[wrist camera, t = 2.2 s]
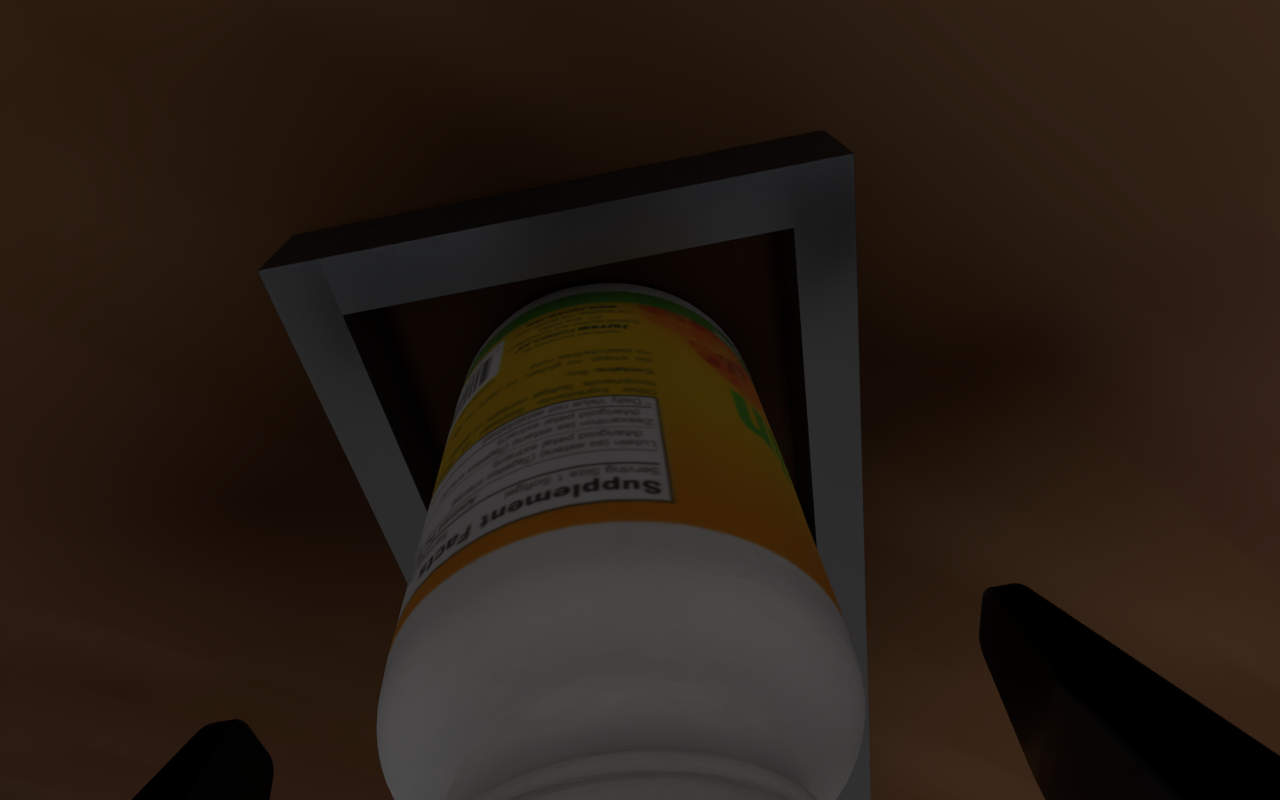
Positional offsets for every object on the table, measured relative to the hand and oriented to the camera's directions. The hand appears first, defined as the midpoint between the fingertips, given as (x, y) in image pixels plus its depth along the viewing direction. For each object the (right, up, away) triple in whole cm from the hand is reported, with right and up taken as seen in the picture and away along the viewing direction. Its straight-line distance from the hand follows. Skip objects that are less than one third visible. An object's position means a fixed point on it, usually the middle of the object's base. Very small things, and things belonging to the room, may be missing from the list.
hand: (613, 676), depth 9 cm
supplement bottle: (0, +3, +5) cm, 6 cm away
